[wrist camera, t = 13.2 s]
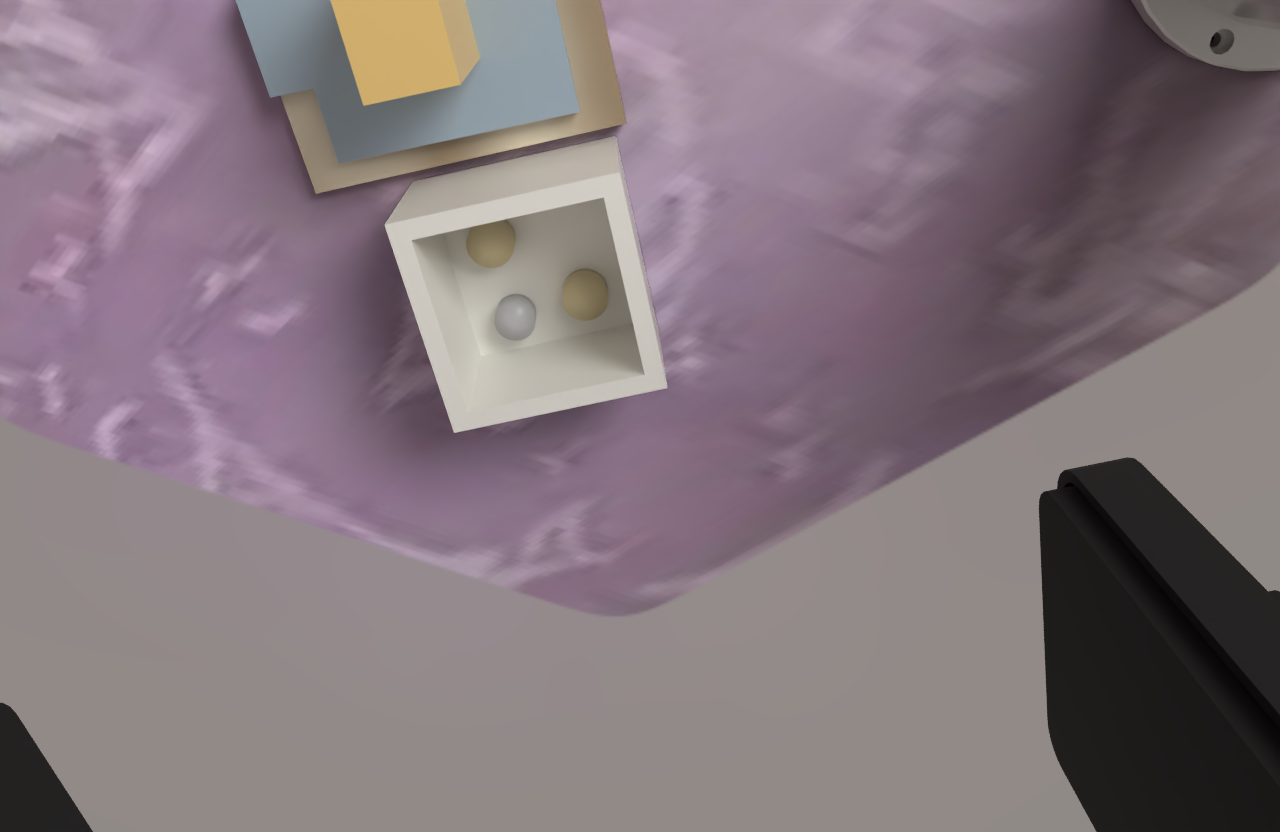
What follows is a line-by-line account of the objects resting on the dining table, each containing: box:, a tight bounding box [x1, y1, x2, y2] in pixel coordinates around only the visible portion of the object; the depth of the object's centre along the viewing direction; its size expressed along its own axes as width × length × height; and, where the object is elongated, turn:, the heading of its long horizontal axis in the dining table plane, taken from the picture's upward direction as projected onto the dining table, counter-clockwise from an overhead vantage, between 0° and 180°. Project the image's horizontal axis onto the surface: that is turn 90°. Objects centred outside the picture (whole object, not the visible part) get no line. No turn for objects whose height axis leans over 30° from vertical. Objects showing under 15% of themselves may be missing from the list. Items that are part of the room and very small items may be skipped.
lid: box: [236, 0, 580, 163], centre depth 33 cm, size 11×9×7 cm
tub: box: [385, 136, 667, 433], centre depth 38 cm, size 8×8×6 cm
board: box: [281, 0, 626, 194], centre depth 36 cm, size 12×11×1 cm
